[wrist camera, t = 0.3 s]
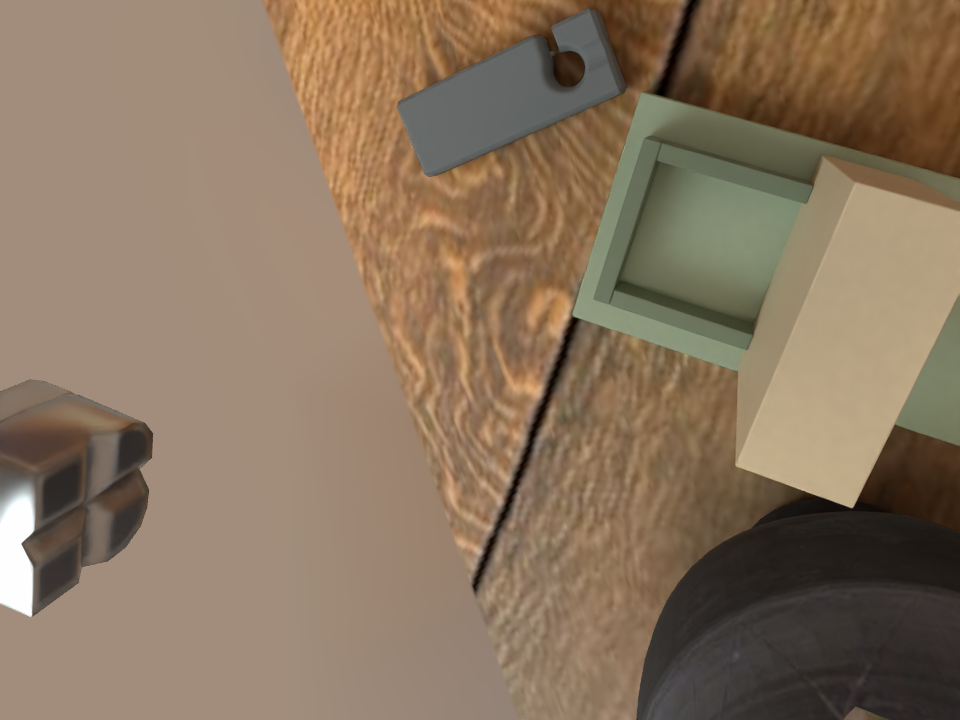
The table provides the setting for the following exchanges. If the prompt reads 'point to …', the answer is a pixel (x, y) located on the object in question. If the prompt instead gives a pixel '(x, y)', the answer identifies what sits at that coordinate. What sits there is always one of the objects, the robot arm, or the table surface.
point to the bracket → (510, 95)
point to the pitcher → (813, 622)
